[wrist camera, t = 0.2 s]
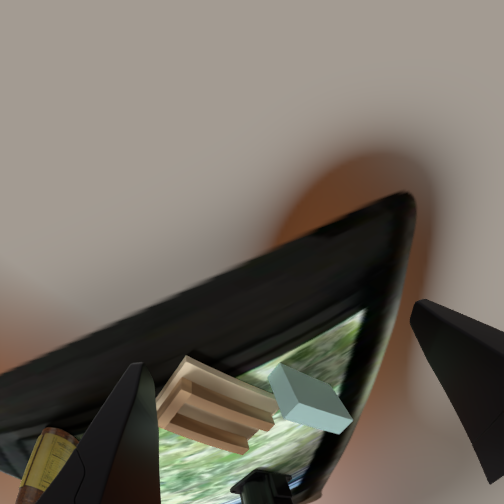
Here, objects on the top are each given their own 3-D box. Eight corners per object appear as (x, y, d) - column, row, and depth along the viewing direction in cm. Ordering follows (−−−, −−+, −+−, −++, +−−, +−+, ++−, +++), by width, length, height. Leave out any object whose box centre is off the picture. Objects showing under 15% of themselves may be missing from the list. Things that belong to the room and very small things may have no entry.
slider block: (318, 397, 29) (339, 434, 23) (267, 377, 27) (283, 418, 21) (329, 384, 29) (353, 420, 23) (279, 362, 27) (298, 402, 21)
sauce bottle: (62, 456, 26) (34, 570, 7) (33, 425, 24) (-13, 543, 5) (97, 454, 26) (75, 584, 7) (67, 421, 24) (24, 560, 5)
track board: (234, 446, 29) (237, 463, 26) (145, 413, 26) (142, 432, 23) (282, 397, 28) (289, 414, 25) (186, 355, 25) (185, 373, 22)
